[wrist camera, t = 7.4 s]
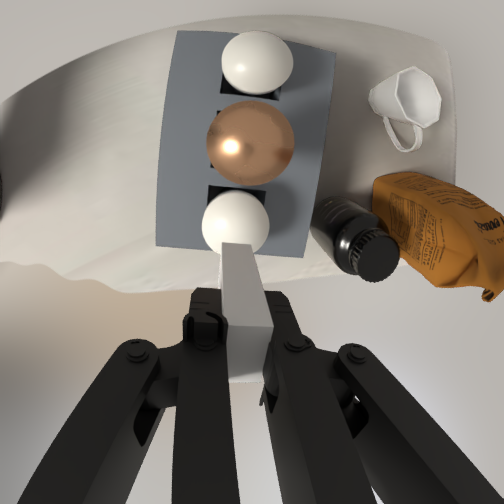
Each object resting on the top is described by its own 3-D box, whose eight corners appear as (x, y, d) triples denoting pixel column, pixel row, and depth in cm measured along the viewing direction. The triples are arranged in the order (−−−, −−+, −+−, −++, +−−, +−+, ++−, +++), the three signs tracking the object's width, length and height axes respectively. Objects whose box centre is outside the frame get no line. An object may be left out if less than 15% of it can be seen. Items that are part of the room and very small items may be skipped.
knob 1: (219, 102, 24) (216, 87, 17) (226, 57, 22) (227, 27, 15) (270, 108, 25) (288, 97, 17) (276, 64, 23) (296, 37, 15)
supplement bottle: (363, 230, 35) (414, 271, 24) (320, 254, 35) (357, 305, 24) (346, 185, 32) (400, 211, 21) (299, 210, 33) (335, 248, 22)
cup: (398, 77, 26) (436, 69, 19) (408, 148, 30) (448, 155, 23) (353, 74, 26) (388, 62, 19) (366, 151, 30) (402, 157, 23)
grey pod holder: (170, 220, 32) (155, 246, 24) (188, 55, 24) (177, 30, 17) (286, 230, 34) (303, 258, 26) (310, 70, 26) (336, 53, 19)
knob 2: (206, 223, 29) (199, 255, 22) (210, 175, 27) (204, 190, 20) (253, 227, 30) (264, 260, 22) (260, 180, 28) (274, 197, 20)
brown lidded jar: (209, 167, 24) (201, 181, 16) (216, 110, 21) (211, 96, 14) (267, 173, 24) (287, 190, 16) (275, 117, 22) (299, 108, 14)
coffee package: (428, 236, 36) (530, 312, 16) (363, 240, 35) (471, 343, 15) (437, 174, 32) (558, 223, 12) (369, 167, 31) (513, 222, 11)
